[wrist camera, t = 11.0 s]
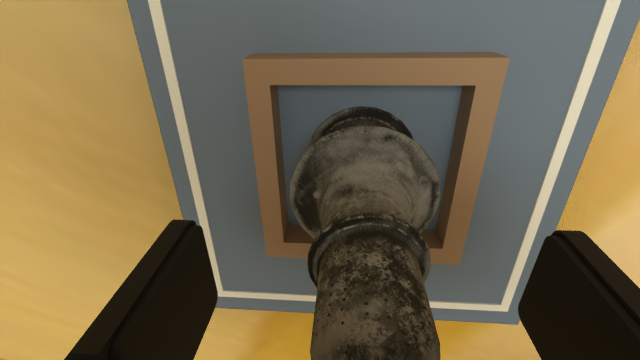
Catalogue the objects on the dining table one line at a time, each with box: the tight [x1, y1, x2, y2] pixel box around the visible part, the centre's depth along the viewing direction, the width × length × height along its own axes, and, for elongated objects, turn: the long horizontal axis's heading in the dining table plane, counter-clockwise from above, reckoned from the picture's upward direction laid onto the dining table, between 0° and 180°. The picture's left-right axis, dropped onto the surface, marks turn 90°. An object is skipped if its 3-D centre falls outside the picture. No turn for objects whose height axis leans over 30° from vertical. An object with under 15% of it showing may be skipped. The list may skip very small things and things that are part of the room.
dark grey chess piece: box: [290, 106, 440, 360], centre depth 11 cm, size 6×6×12 cm
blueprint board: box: [127, 0, 640, 325], centre depth 16 cm, size 22×20×2 cm
